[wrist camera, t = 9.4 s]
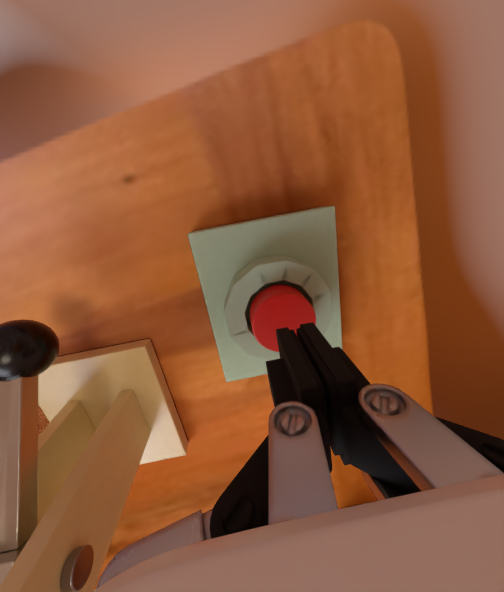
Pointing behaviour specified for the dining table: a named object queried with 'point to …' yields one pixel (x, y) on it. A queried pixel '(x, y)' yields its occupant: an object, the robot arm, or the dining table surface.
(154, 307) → the dining table surface
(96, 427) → the switch bracket
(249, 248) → the grey button base
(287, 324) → the console button
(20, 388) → the switch lever
